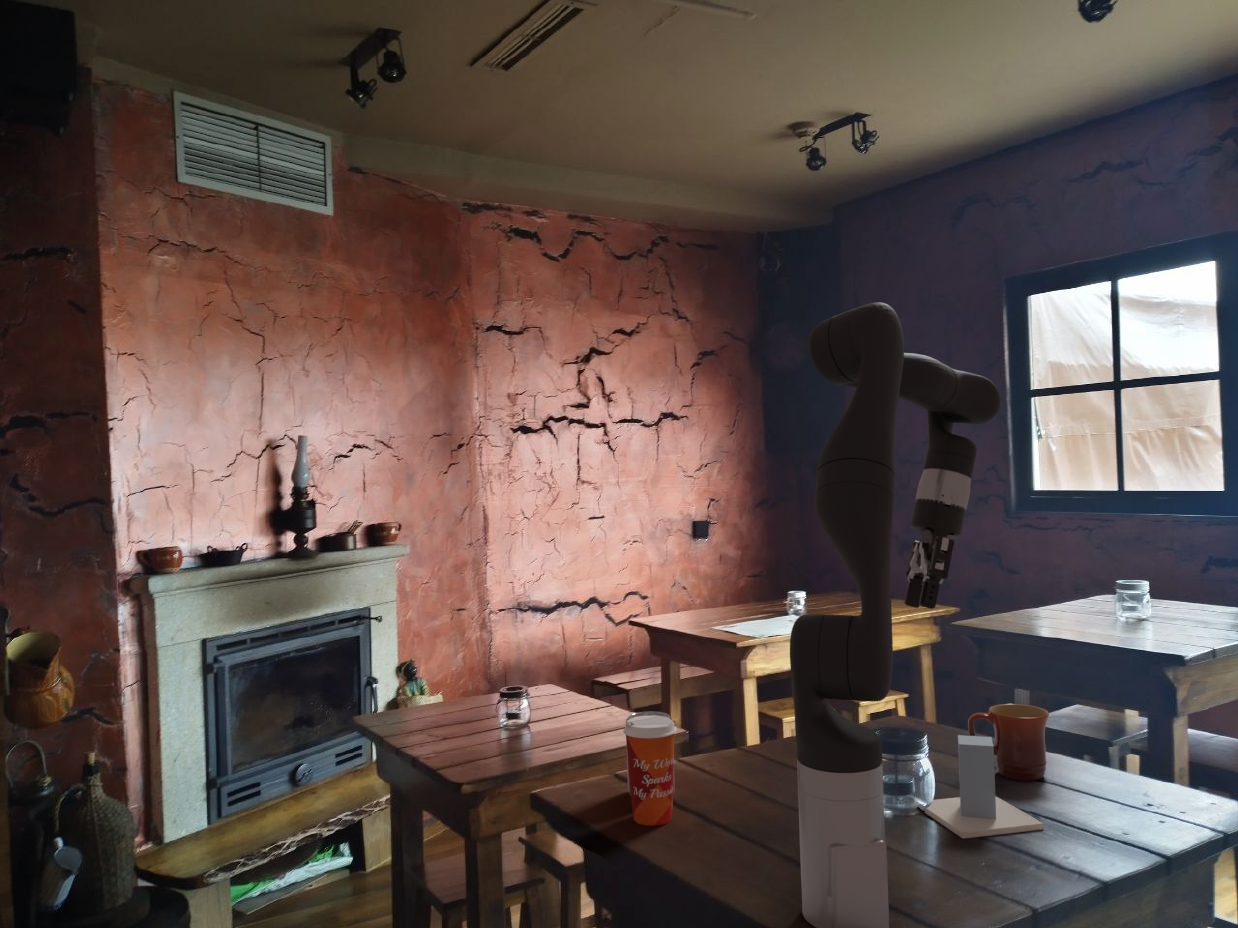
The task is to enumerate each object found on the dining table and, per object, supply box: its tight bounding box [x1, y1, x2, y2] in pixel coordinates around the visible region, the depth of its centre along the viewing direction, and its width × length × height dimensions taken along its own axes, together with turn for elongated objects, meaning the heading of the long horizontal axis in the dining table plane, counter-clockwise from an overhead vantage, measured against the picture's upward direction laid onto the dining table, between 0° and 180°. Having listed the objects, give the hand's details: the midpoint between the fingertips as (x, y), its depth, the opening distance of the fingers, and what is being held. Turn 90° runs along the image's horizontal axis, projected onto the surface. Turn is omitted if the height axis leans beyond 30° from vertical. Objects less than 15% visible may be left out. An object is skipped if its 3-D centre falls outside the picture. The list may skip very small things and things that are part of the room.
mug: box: [967, 703, 1050, 782], centre depth 147 cm, size 12×9×10 cm
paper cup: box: [623, 716, 678, 827], centre depth 133 cm, size 8×8×14 cm
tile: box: [924, 795, 1045, 840], centre depth 129 cm, size 12×12×1 cm
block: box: [957, 734, 996, 819], centre depth 129 cm, size 4×4×10 cm
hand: (918, 606), depth 138 cm, fingers open, 8 cm apart
